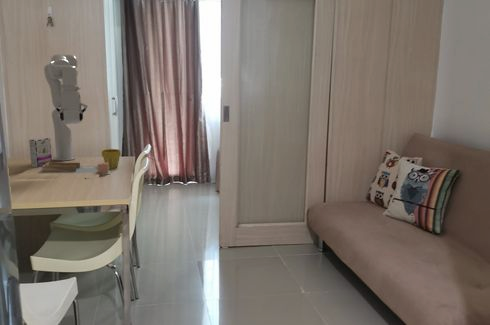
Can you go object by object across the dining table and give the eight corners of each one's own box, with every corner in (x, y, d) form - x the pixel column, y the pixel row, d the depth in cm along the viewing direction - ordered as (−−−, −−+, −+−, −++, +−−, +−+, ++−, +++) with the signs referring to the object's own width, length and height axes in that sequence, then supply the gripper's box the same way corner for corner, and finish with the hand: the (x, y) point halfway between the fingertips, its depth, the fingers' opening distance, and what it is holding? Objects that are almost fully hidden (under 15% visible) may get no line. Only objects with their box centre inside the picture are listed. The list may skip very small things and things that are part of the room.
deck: (47, 168, 247) (47, 166, 246) (100, 167, 251) (100, 165, 250) (36, 175, 229) (36, 173, 229) (94, 174, 233) (94, 172, 233)
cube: (99, 171, 238) (99, 162, 237) (109, 171, 239) (109, 162, 238) (98, 173, 233) (97, 164, 232) (107, 173, 234) (107, 164, 233)
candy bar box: (45, 165, 256) (43, 137, 253) (52, 165, 254) (50, 137, 251) (30, 168, 246) (28, 139, 243) (37, 169, 244) (35, 140, 241)
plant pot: (115, 169, 247) (115, 152, 246) (99, 168, 250) (98, 151, 248) (124, 165, 257) (123, 149, 256) (108, 165, 259) (107, 148, 258)
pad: (98, 172, 240) (98, 170, 240) (111, 171, 241) (111, 170, 241) (96, 174, 233) (96, 173, 233) (109, 174, 234) (109, 173, 234)
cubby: (48, 168, 242) (47, 162, 241) (80, 167, 244) (79, 162, 244) (42, 171, 232) (42, 166, 232) (75, 171, 235) (75, 165, 234)
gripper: (88, 89, 244) (89, 119, 247) (55, 88, 241) (57, 119, 244) (85, 89, 236) (86, 121, 240) (51, 89, 234) (53, 121, 237)
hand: (71, 120), depth 242 cm, fingers open, 9 cm apart
